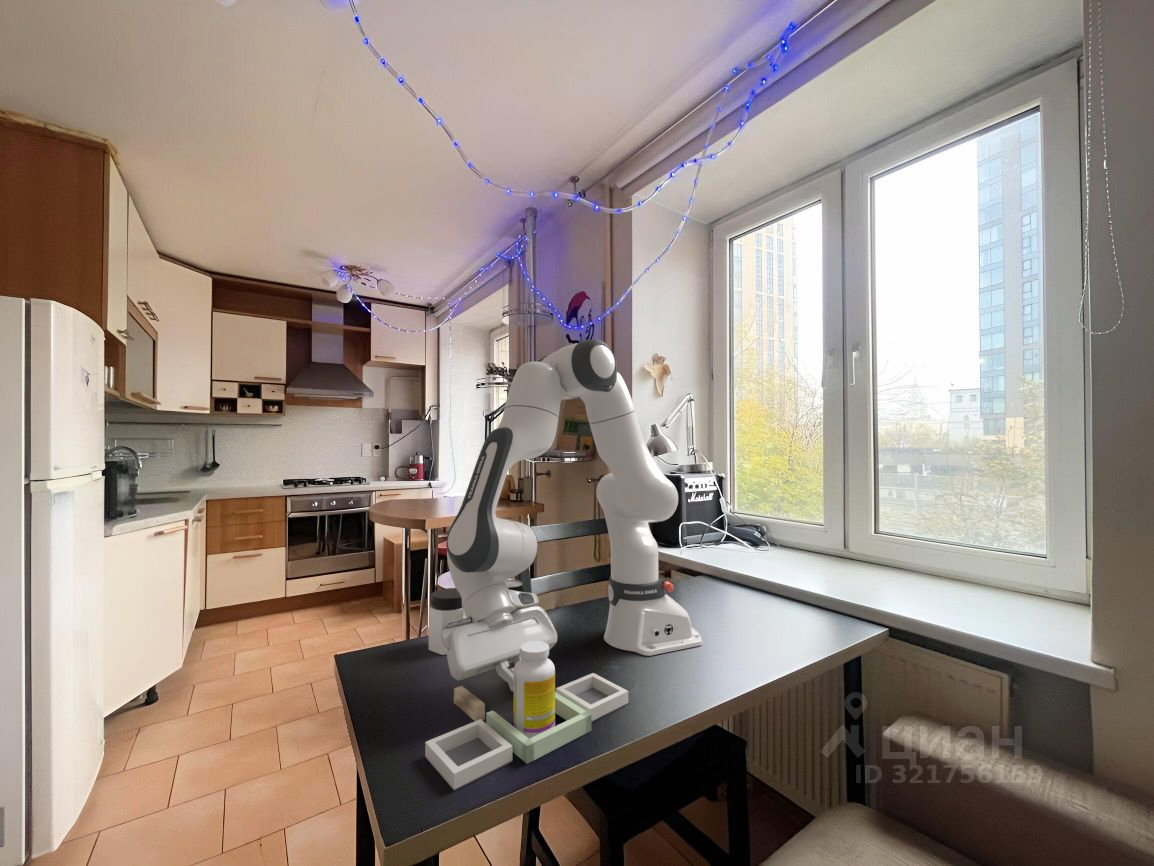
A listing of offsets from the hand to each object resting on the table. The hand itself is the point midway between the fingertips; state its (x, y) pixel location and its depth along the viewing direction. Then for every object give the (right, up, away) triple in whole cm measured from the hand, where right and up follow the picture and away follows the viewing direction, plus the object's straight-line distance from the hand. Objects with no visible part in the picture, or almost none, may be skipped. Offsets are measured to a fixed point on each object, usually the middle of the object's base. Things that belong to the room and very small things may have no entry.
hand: (521, 687), depth 80 cm
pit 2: (+12, -5, +5) cm, 14 cm away
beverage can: (-7, -6, +36) cm, 37 cm away
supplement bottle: (+2, -5, -3) cm, 6 cm away
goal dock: (+3, -5, -3) cm, 6 cm away
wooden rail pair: (-5, -5, +6) cm, 9 cm away
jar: (-19, -6, +28) cm, 34 cm away
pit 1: (-6, -5, -11) cm, 13 cm away
